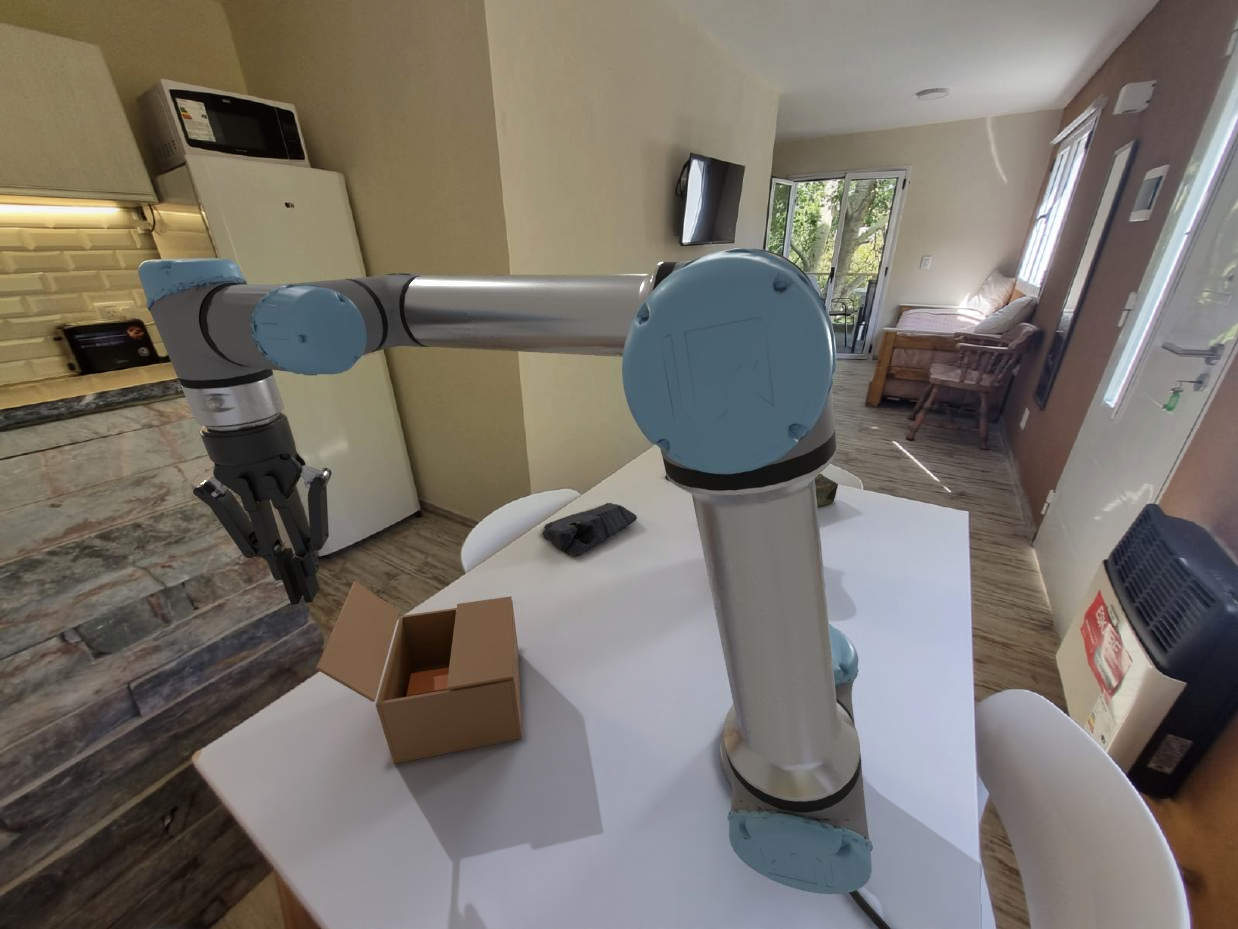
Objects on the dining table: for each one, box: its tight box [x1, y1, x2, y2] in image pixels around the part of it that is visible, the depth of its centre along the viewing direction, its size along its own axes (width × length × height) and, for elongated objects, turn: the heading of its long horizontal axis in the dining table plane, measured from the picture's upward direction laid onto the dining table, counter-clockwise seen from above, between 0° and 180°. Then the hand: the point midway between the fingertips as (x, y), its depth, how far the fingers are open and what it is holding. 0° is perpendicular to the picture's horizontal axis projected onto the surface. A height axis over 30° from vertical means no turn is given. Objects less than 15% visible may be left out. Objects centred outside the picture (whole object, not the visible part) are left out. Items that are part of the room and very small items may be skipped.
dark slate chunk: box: [541, 502, 638, 557], centre depth 115 cm, size 15×22×5 cm
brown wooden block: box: [815, 472, 839, 508], centre depth 127 cm, size 8×19×7 cm, turn 114°
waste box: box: [375, 596, 523, 764], centre depth 71 cm, size 16×17×12 cm
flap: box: [315, 580, 400, 703], centre depth 64 cm, size 16×8×1 cm
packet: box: [406, 667, 449, 697], centre depth 71 cm, size 4×7×5 cm, turn 102°
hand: (305, 596), depth 60 cm, fingers closed
